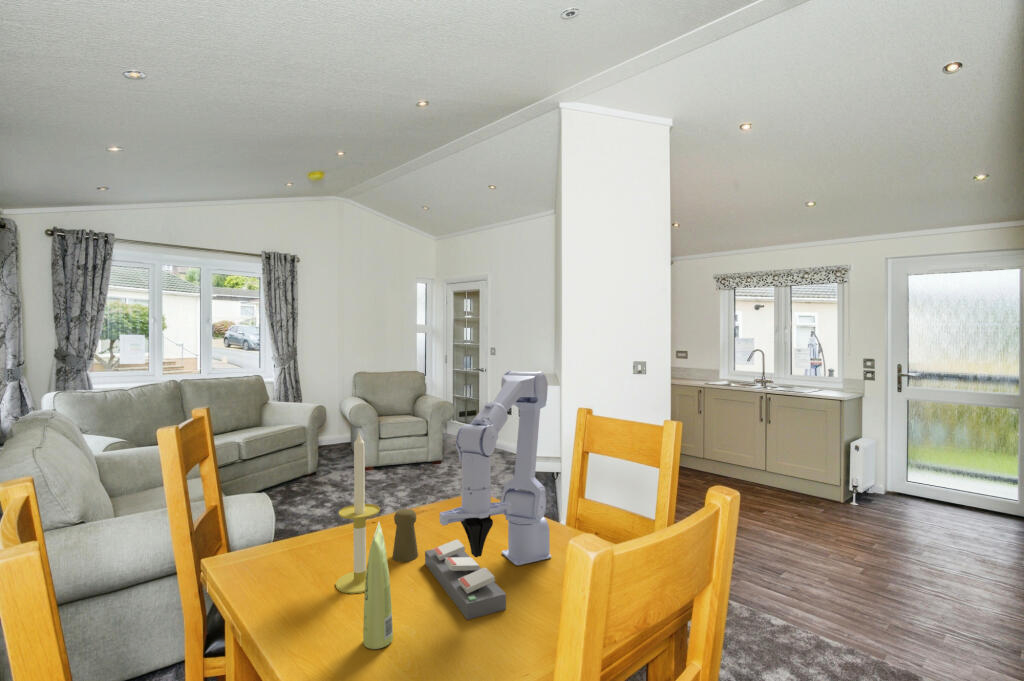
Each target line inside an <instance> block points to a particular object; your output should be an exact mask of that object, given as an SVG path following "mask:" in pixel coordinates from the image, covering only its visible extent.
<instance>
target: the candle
mask: <svg viewBox="0 0 1024 681" xmlns="http://www.w3.org/2000/svg"><path fill="white" fill-rule="evenodd" d="M365 457H366V456H365V441H364V440H363V438H362V436H361V433H360V431H358V433H357V437H356V439H355V440H354V442H353V467H354V468H353V481H354V482H353V485H354V486H353V487H354V488H353V494H354V496H353V497H354V502H353V504H352V505H351V504H350V505H349V506H345V507H342V508H341V509H340V510H339V511H338V515H339V517H340V518H342V519H347V520H353V571H351V572H348V573H345V574H343V575H342V576H341V577H339V578H338V579H337V580H336V582H335V584H334V585H336V586H335V588H337V589H336V590H337V591H338V590H339V592H340V591H341V592H340V593H342V592H343V594H348V593H349V594H350V595H354V594H355V593H356V595H357V593H358V594H363V593H364V594H365V582H366V572H367V542H366V541H367V527H366V526H367V525H366V524H367V522H366V521H367V519H369V518H370V517H373V516H376V515H378V514H379V512H380V510H381V507H380V506H379V505H376V504H374V503H373V504H372V503H366V502H365V501H366V499H365V498H366V497H365V496H366V495H365V494H366V492H365V488H366V486H365V484H366V483H365V479H366V476H365V475H366V474H365V472H366V471H365V469H366V468H365V463H366V462H365Z"/></svg>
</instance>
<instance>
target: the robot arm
mask: <svg viewBox="0 0 1024 681" xmlns="http://www.w3.org/2000/svg"><path fill="white" fill-rule="evenodd" d="M500 382H501V383H500V384H501V385H500V386H501V388H500V390H499V392H498V394H497V395H496V397H495V399H494V400H493V401H492V402H486V403H485V404H484V406H483V407H482V408H481V410H479V412H478V414H476V415H475V417H474V418H473V419H472V421H471V422H470V423H467V424H464V425H463V426H461V427H460V428H459V429H458V431H457V433H456V439H455V442H454V444H455V448H456V450H457V453H458V461H459V463H461V506H458V507H455V508H452V509H449V510H445V511H441V512H439V523H440V525H441V526H448V525H449V524H452V523H458V522H460V523H461V526H462V527H463V529H464V532H465V534H466V536H467V540H468V543H469V547H470V553H471V555H472V556H473V557H474V558H478V557H482V555H483V549H484V546H485V543H486V540H487V537H488V534H489V533H490V531H491V529H492V527H493V525H494V521H493V518H491V516H492V517H493V516H497V515H504V516H505V520H506V521H508V522H507V523H508V524H507V525H508V527H507V531H508V532H507V533H508V536H507V537H508V538H507V539H508V540H507V542H508V545H507V547H508V549H504V550H502V551H501V554H502V555H503V556H504V557H506V559H508V560H509V561H510V562H511V563H513V565H515V566H522V565H526V564H530V563H536V562H539V561H543V560H547V559H551V558H552V555H551V553H550V550H551V549H550V546H551V544H550V541H551V540H550V526H549V522H548V521H547V519H546V517H544V516H545V514H546V511H547V510H546V509H547V499H546V487H545V486H544V485H543V484H542V483H541V482H540V481H539V480H538V479H537V478H536V467H537V466H536V465H537V453H538V442H539V426H540V416H541V409H542V408H545V407H546V406H547V401H548V386H549V384H548V379H547V376H546V375H545V373H544V372H543V371H512V370H506V371H505V373H504V374H503V375H502V377H501V381H500ZM513 406H515V407H517V409H518V411H519V416H518V418H519V419H518V428H517V429H518V432H517V441H516V454H515V464H514V476H513V477H512V478H511V479H509V480H508V481H507V482H506V483H504V484H503V485H504V486H503V492H502V494H501V498H500V501H498V502H497V501H496V502H492V499H491V498H492V497H491V496H492V495H491V494H492V491H491V490H492V488H491V487H492V486H491V478H492V477H491V472H492V471H491V467H492V463H491V460H492V459H491V455H492V454H493V453H494V451H495V449H496V446H497V441H498V439H499V433H500V431H501V430H502V428H503V427H504V426H505V424H506V423H507V420H508V418H509V417H508V416H509V415H508V411H510V409H511V408H512V407H513Z"/></svg>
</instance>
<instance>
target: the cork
mask: <svg viewBox="0 0 1024 681" xmlns="http://www.w3.org/2000/svg"><path fill="white" fill-rule="evenodd" d="M393 520H394V524H395V526H396V527H395V534H394V542H393V551H392V560H393V561H395V562H398V563H407V562H408V563H409V562H411V561H414V560H416V559H418V557H419V551H418V545H417V537H416V536H417V535H416V530H415V523H416V521H417V514H416V512H415V510H413V509H411V508H403V509H402V508H401V509H399V510H397V511H396V512H395V513H394V517H393Z"/></svg>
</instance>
